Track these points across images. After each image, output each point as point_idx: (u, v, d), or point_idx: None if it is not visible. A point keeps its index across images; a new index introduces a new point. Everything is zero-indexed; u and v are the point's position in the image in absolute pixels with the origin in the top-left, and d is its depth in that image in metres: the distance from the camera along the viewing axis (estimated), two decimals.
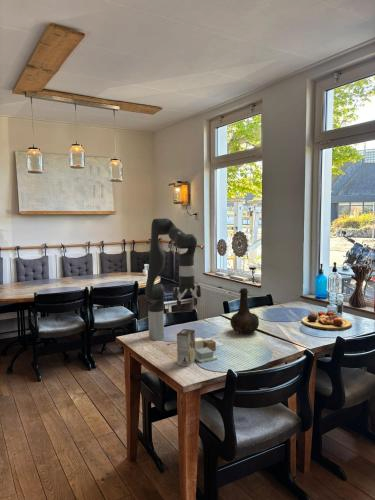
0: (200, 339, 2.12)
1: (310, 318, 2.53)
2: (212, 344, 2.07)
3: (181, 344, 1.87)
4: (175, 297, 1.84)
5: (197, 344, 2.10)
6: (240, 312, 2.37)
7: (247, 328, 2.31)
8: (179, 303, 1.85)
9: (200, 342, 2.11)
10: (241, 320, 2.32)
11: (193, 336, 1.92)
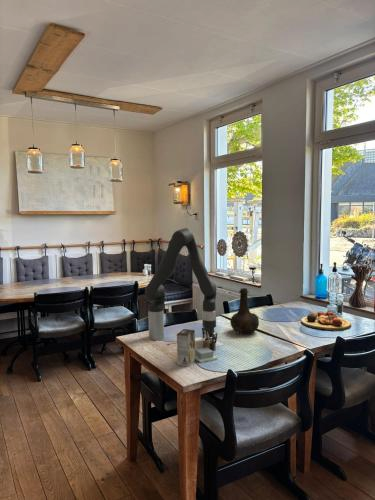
0: (200, 339, 2.12)
1: (309, 318, 2.53)
2: None
3: (181, 344, 1.87)
4: (216, 340, 2.05)
5: (197, 344, 2.10)
6: (240, 312, 2.37)
7: (247, 328, 2.31)
8: (213, 345, 2.07)
9: (200, 342, 2.11)
10: (241, 320, 2.32)
11: (193, 336, 1.92)
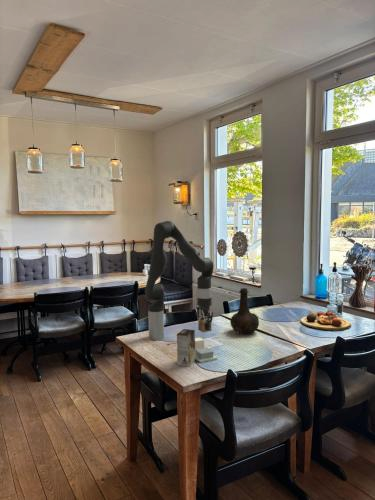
0: (200, 339, 2.12)
1: (309, 318, 2.53)
2: None
3: (181, 344, 1.87)
4: (211, 320, 1.92)
5: (197, 344, 2.10)
6: (240, 312, 2.37)
7: (247, 328, 2.31)
8: None
9: (200, 342, 2.11)
10: (241, 320, 2.32)
11: (193, 336, 1.92)
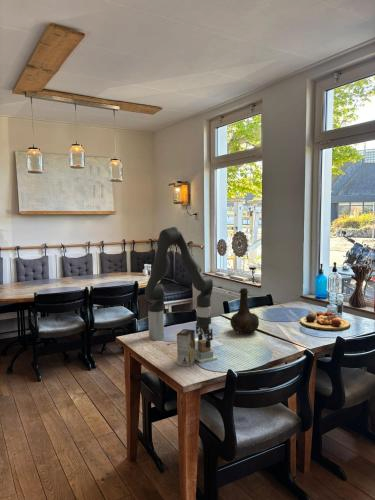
0: None
1: (308, 318, 2.53)
2: None
3: (181, 344, 1.87)
4: None
5: (197, 344, 2.10)
6: (240, 312, 2.37)
7: (247, 328, 2.31)
8: (209, 343, 1.93)
9: None
10: (241, 320, 2.32)
11: (193, 336, 1.92)
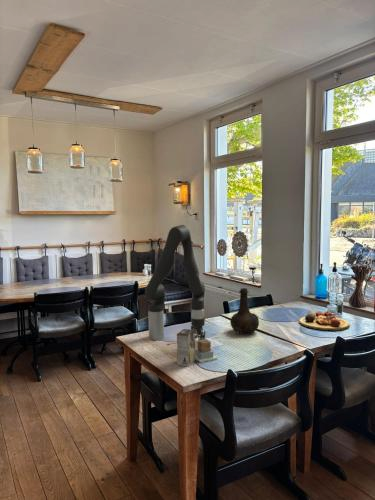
0: None
1: (308, 318, 2.52)
2: (207, 344, 1.95)
3: (181, 344, 1.87)
4: (204, 338, 2.08)
5: (197, 344, 2.10)
6: (240, 312, 2.37)
7: (247, 328, 2.31)
8: None
9: None
10: (241, 320, 2.32)
11: (193, 336, 1.92)
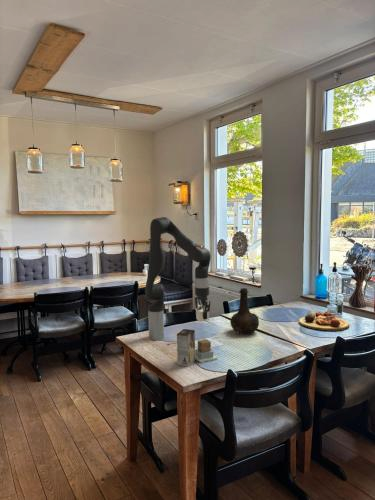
0: None
1: (307, 319, 2.52)
2: (207, 344, 1.95)
3: (181, 344, 1.87)
4: None
5: (201, 315, 1.97)
6: (240, 312, 2.37)
7: (247, 328, 2.31)
8: (206, 314, 1.98)
9: None
10: (241, 320, 2.32)
11: (193, 336, 1.92)
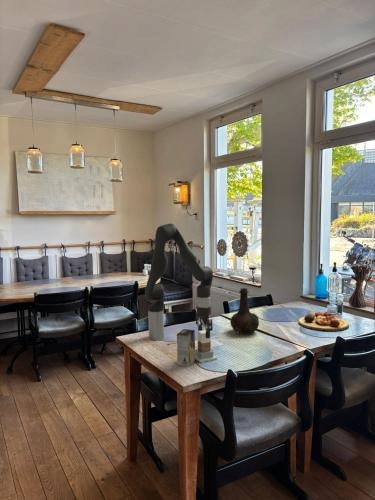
0: None
1: (307, 319, 2.52)
2: (207, 344, 1.95)
3: (181, 344, 1.87)
4: None
5: (203, 337, 1.94)
6: (240, 312, 2.37)
7: (247, 328, 2.31)
8: (209, 333, 1.93)
9: None
10: (241, 320, 2.32)
11: (193, 336, 1.92)
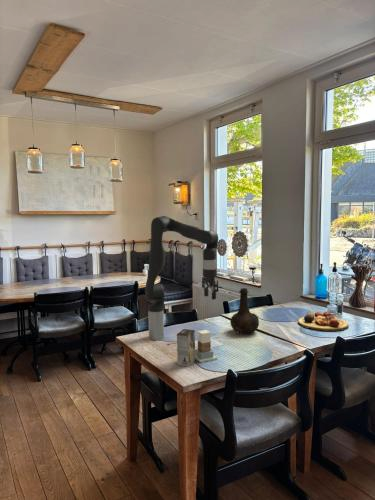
0: (206, 331, 1.96)
1: (306, 319, 2.51)
2: (207, 344, 1.95)
3: (181, 344, 1.87)
4: None
5: (203, 337, 1.94)
6: (240, 312, 2.37)
7: (247, 328, 2.31)
8: (215, 294, 2.00)
9: (206, 335, 1.95)
10: (241, 320, 2.32)
11: (193, 336, 1.92)
